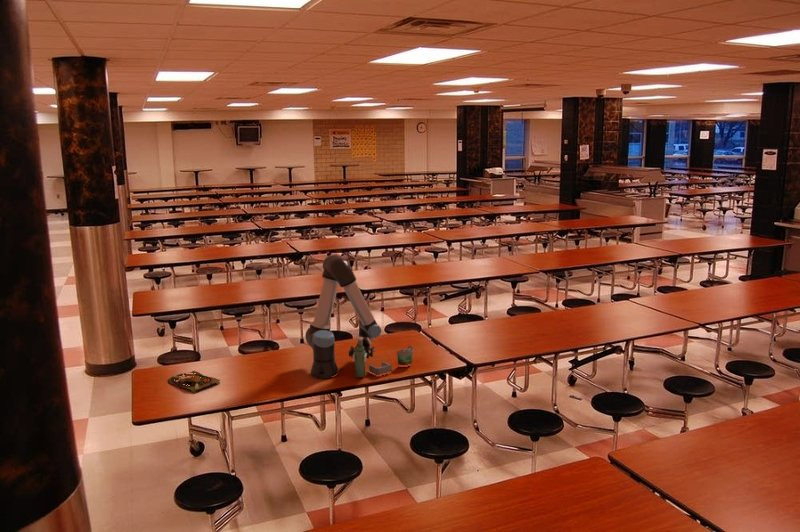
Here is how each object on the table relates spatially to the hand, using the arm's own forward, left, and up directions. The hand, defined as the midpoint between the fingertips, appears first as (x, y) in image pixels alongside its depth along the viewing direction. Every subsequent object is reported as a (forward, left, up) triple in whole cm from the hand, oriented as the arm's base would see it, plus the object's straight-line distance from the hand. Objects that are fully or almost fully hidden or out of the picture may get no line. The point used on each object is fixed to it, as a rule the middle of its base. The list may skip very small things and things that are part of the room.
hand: (359, 359), depth 327 cm
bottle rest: (-3, +15, -12) cm, 20 cm away
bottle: (-4, +3, -11) cm, 12 cm away
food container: (-2, +34, -12) cm, 36 cm away
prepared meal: (-53, -71, -13) cm, 90 cm away
